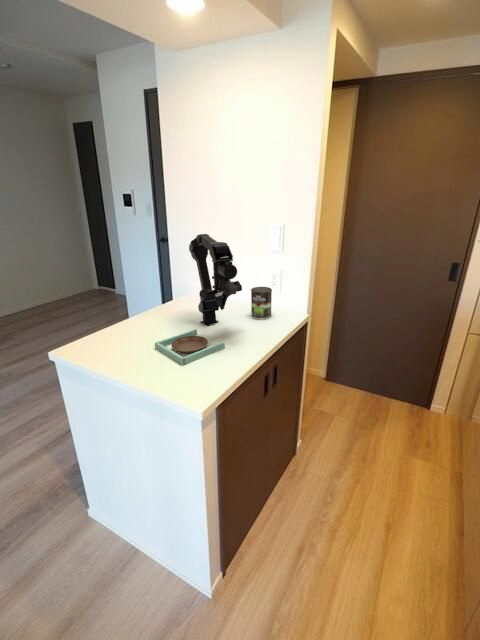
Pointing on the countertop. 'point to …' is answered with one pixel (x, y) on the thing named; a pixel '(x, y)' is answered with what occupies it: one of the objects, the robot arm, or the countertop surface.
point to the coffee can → (261, 302)
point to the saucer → (189, 344)
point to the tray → (189, 358)
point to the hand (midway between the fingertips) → (222, 309)
